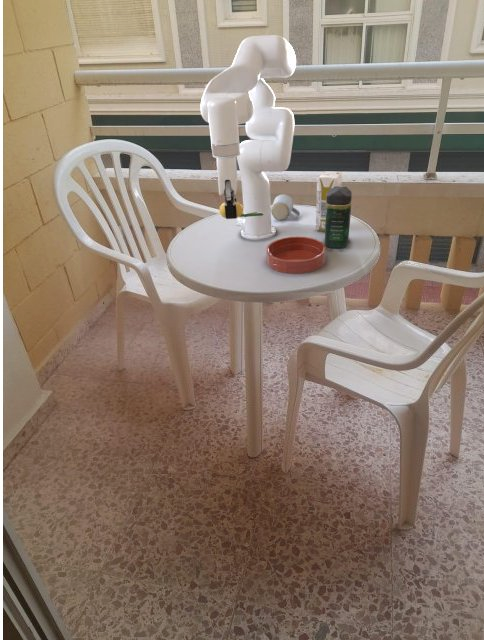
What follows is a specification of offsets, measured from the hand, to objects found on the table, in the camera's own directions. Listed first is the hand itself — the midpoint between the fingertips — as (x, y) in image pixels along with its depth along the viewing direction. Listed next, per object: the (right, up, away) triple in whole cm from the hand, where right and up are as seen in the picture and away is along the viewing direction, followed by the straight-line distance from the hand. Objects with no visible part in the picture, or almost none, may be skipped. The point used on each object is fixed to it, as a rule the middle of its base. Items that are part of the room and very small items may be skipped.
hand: (231, 214), depth 132 cm
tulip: (+3, 0, +1) cm, 3 cm away
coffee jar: (+34, -5, +20) cm, 40 cm away
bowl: (+20, -12, +11) cm, 26 cm away
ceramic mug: (+19, +10, +43) cm, 48 cm away
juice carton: (+33, +3, +32) cm, 46 cm away
